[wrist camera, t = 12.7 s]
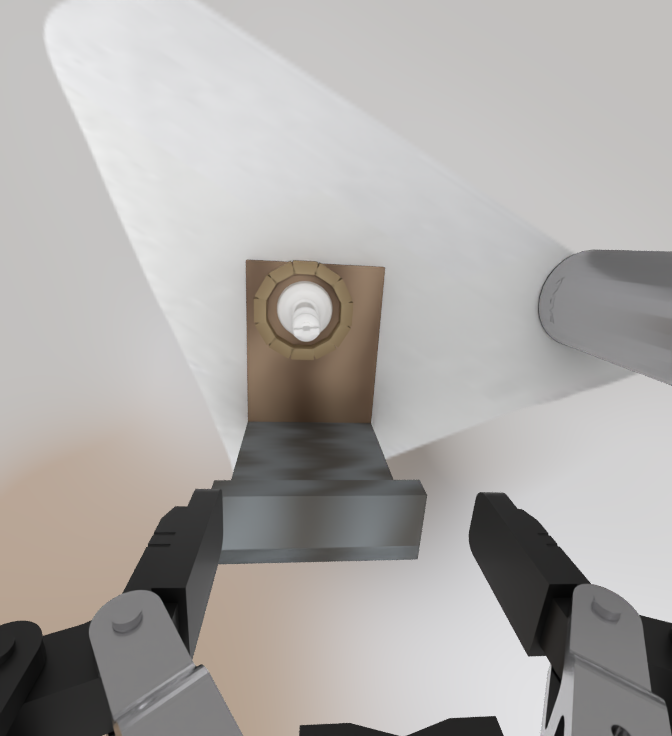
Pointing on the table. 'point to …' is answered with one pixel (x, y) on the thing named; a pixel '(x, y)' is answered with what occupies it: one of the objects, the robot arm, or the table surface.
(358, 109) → the table surface
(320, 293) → the chess piece
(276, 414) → the base
